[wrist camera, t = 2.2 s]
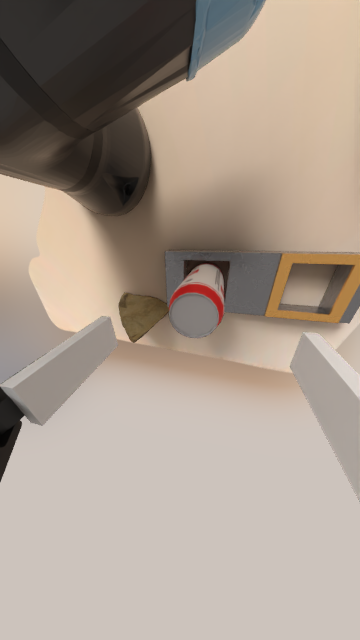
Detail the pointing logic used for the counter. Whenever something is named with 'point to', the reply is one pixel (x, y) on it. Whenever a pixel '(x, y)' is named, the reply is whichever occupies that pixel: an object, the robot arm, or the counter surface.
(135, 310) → the rock
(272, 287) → the grey slotted tray
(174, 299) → the beer can
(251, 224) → the counter surface
